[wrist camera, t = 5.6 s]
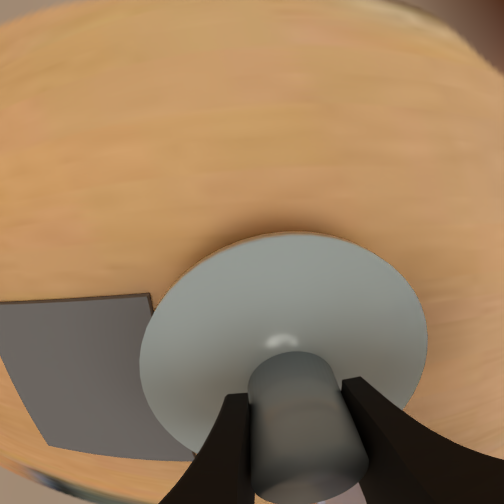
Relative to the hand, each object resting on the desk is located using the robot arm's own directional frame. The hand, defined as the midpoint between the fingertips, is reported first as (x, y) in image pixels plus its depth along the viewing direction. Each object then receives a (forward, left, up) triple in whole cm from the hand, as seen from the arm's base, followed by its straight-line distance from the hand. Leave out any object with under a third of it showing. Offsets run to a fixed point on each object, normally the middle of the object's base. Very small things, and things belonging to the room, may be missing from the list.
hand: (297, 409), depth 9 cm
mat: (-3, +11, -5) cm, 13 cm away
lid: (0, 0, -2) cm, 2 cm away
